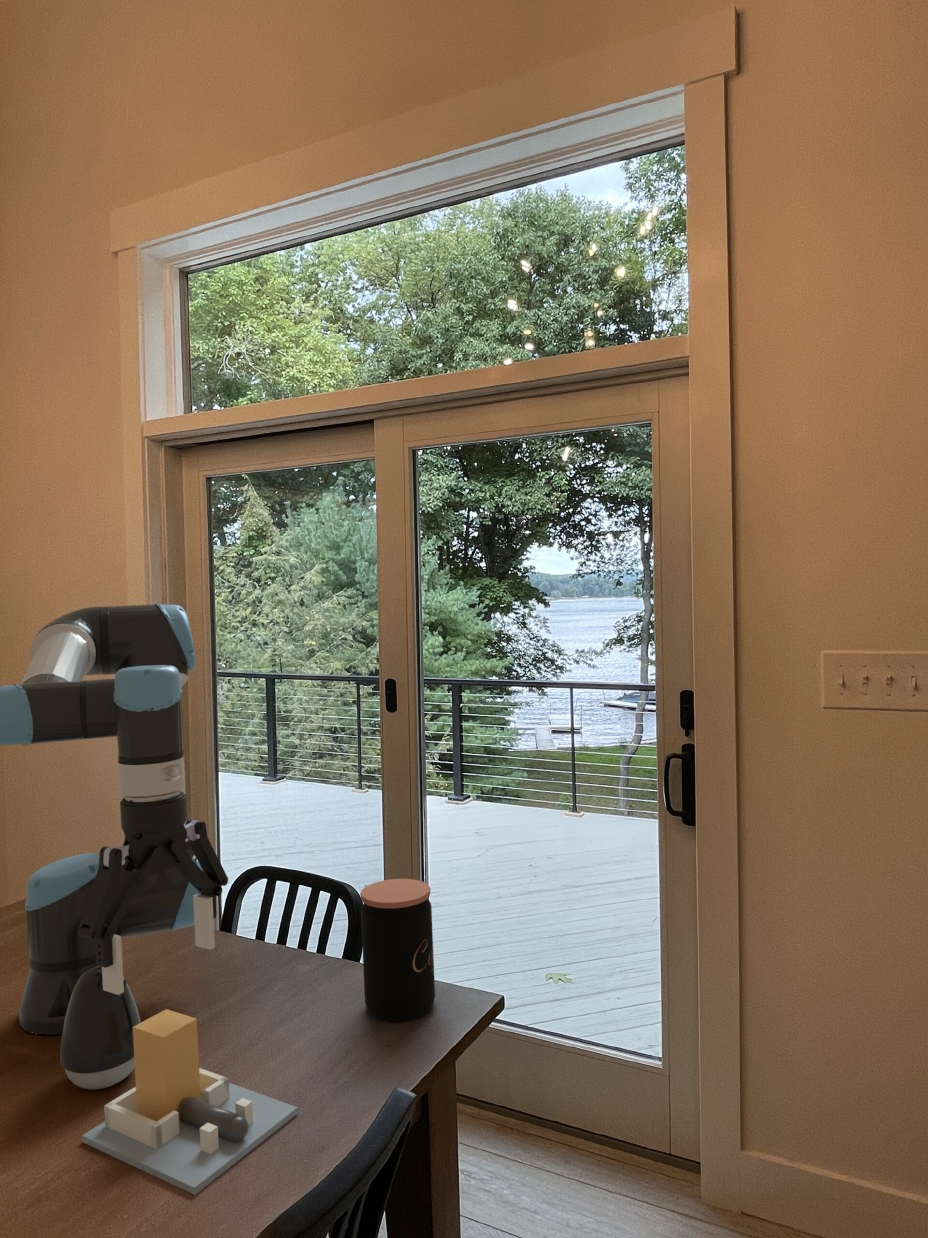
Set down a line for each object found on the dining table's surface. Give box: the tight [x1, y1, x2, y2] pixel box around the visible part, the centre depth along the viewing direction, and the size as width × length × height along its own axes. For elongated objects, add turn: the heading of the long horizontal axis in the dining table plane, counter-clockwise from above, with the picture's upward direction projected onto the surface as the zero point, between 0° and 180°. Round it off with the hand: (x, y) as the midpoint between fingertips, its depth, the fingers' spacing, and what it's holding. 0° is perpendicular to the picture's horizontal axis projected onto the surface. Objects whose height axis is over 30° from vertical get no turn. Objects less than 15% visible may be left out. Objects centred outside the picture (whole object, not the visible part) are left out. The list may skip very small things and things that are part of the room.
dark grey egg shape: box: [59, 965, 142, 1090], centre depth 114 cm, size 10×10×15 cm
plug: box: [133, 1008, 249, 1142], centre depth 102 cm, size 16×5×11 cm, turn 59°
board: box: [81, 1067, 299, 1196], centre depth 103 cm, size 19×16×3 cm
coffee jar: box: [359, 878, 436, 1023], centre depth 131 cm, size 11×11×18 cm
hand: (161, 968), depth 104 cm, fingers open, 13 cm apart
